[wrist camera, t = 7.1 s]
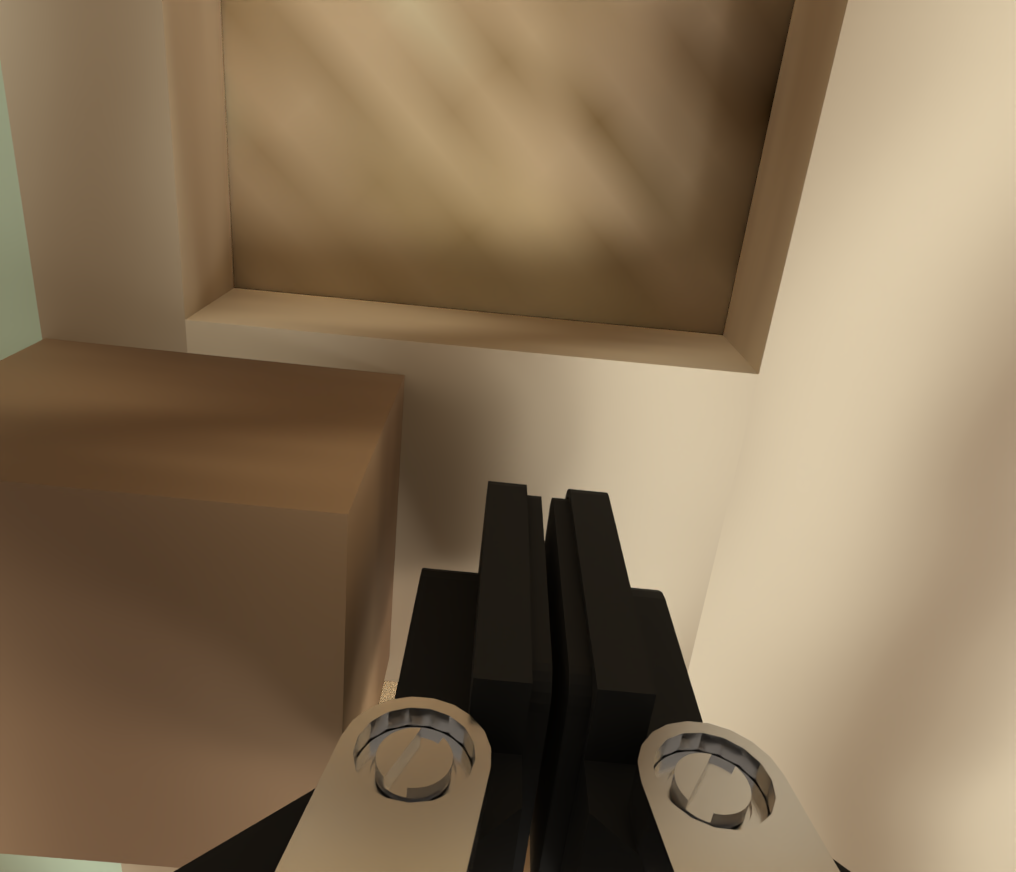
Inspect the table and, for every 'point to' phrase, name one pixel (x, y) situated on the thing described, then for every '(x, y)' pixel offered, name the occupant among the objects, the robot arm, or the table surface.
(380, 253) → the table surface
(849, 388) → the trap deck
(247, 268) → the table surface
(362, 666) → the walnut block
